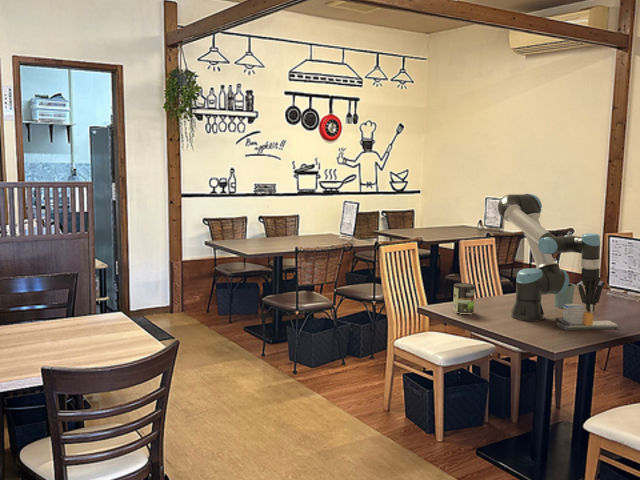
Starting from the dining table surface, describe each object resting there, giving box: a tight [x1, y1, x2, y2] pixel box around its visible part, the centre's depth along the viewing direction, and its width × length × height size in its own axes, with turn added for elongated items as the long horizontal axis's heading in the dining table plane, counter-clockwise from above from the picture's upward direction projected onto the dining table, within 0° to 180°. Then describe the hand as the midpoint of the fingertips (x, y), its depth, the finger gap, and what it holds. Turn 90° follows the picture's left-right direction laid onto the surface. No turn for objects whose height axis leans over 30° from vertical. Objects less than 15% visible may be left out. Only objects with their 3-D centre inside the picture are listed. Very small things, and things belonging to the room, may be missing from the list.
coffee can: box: [452, 282, 476, 314], centre depth 308 cm, size 10×10×14 cm
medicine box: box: [562, 303, 585, 324], centre depth 281 cm, size 8×4×9 cm, turn 96°
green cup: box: [554, 282, 576, 309], centre depth 320 cm, size 10×10×12 cm
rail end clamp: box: [583, 308, 594, 325], centre depth 282 cm, size 3×9×6 cm, turn 6°
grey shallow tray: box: [555, 317, 620, 331], centre depth 283 cm, size 26×9×3 cm, turn 96°
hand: (590, 318), depth 283 cm, fingers closed
